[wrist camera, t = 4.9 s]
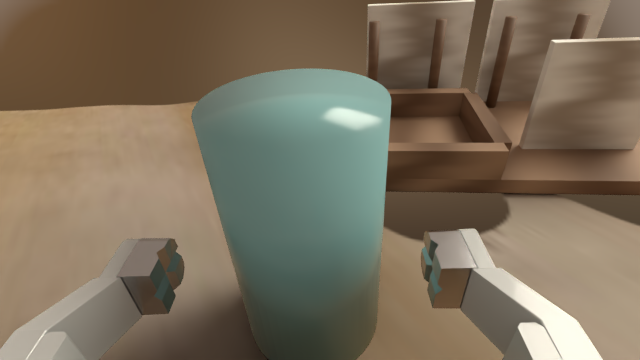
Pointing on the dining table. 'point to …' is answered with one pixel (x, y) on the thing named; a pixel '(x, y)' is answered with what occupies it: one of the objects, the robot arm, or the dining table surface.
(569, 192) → the rack
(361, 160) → the teal glossy cylinder
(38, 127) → the dining table surface
